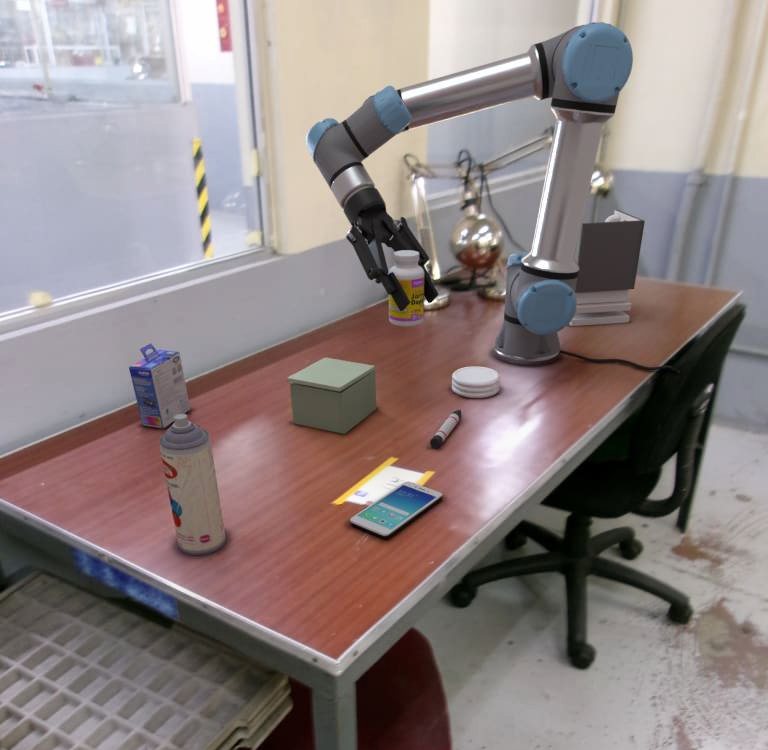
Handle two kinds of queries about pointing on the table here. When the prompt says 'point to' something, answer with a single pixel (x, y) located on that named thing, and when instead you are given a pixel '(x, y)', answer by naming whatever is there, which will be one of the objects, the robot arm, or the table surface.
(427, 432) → the table surface
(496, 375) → the coaster
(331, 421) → the chest
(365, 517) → the smartphone
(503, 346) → the robot arm
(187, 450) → the aerosol can
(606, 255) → the stack of books
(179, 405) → the ink cartridge box
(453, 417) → the marker
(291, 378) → the lid
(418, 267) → the supplement bottle
